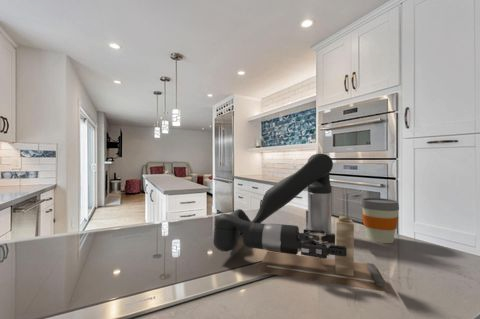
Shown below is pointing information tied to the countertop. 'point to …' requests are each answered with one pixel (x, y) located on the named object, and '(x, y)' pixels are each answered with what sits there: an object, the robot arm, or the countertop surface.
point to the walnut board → (321, 270)
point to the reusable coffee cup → (380, 219)
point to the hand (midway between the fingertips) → (344, 245)
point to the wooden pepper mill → (344, 245)
